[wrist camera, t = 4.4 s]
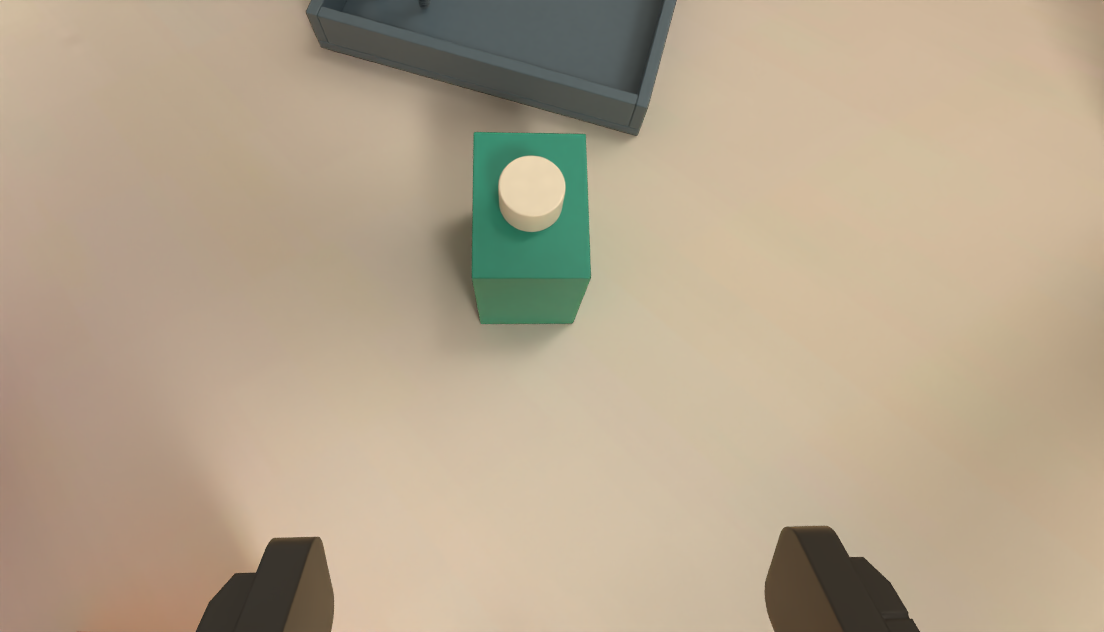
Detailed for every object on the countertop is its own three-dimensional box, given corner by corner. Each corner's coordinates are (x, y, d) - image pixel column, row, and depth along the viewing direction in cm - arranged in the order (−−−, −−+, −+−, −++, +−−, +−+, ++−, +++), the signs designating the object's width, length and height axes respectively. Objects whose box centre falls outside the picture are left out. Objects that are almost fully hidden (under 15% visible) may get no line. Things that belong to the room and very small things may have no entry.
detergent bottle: (569, 207, 32) (590, 111, 23) (573, 323, 30) (596, 265, 22) (481, 206, 31) (471, 109, 23) (480, 324, 30) (468, 264, 22)
